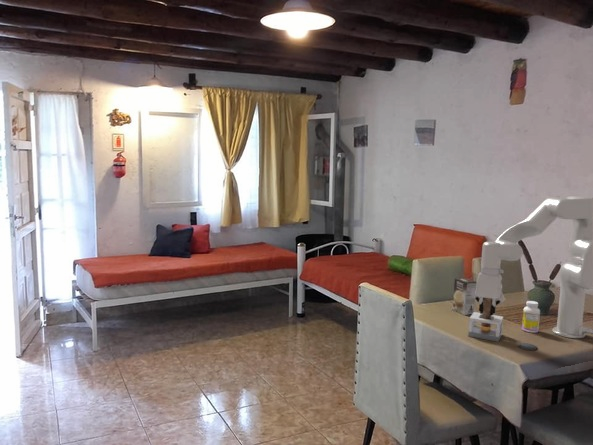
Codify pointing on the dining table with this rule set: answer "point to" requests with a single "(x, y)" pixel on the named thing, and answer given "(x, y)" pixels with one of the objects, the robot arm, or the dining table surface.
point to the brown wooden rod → (486, 311)
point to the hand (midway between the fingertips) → (486, 313)
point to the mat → (527, 346)
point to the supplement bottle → (531, 317)
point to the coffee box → (464, 296)
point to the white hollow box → (491, 335)
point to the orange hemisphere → (486, 328)
